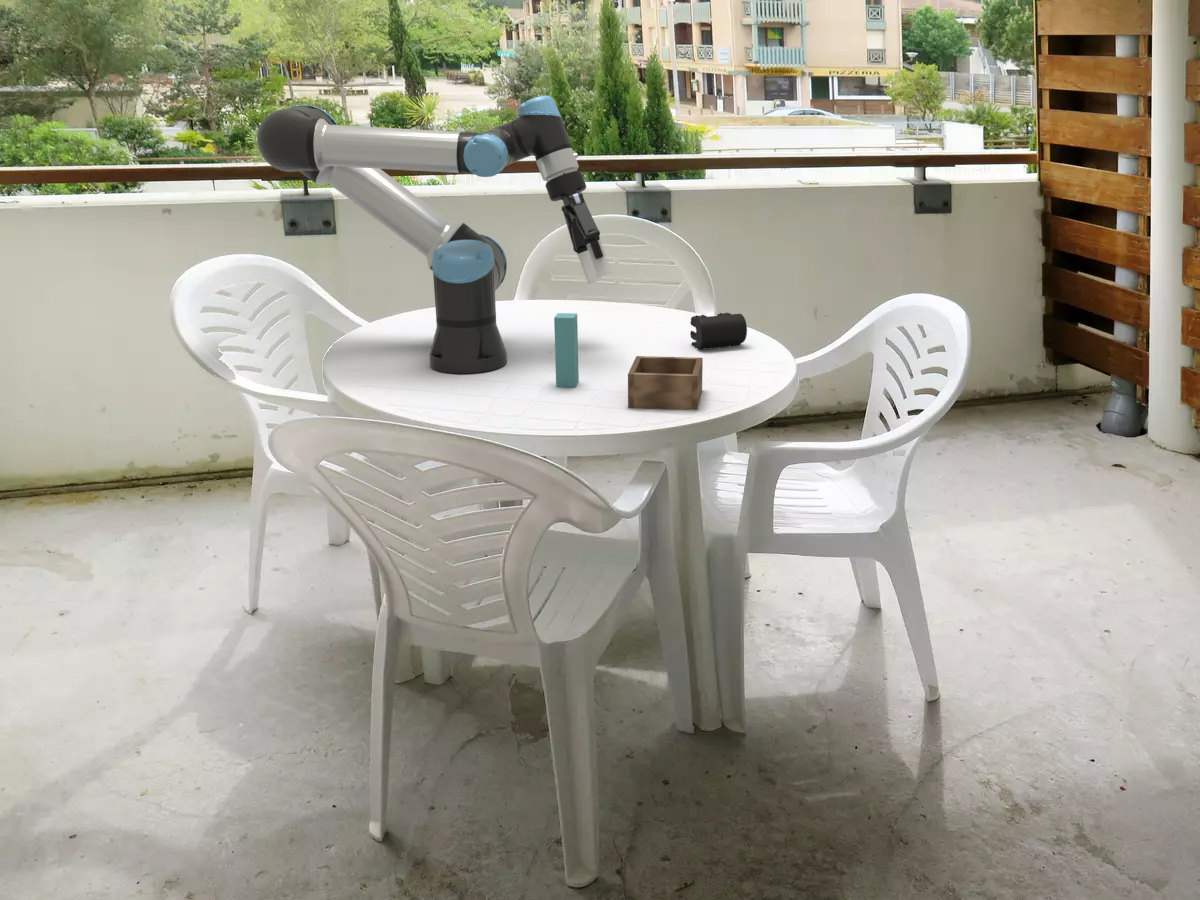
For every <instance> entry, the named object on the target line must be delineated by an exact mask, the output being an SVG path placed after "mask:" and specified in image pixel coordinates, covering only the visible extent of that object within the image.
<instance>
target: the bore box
mask: <svg viewBox="0 0 1200 900" xmlns="http://www.w3.org/2000/svg"><path fill="white" fill-rule="evenodd" d="M634 358H635V359H634V360H633V362H632V364H631V367H630V369H629V370H628V371H629V372H628V373H627V407H630V409H631V408H633V409H659V408H661V409H664V410H665V409H667V410H690V409H694V411H695V410H696V411H697V410H698V409H699V405H700V400H701V396H702V393H703V371H704V370H703V361H704V360H703V358H704V357H696V356H695V357H692V356H691V357H688V356H687V357H686V356H653V355H651V356H650V355H649V356H647V355H646V356H645V355H643V356H642V355H636V356H635V357H634ZM661 409H660V410H661Z"/></svg>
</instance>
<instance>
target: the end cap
mask: <svg viewBox="0 0 1200 900" xmlns="http://www.w3.org/2000/svg"><path fill="white" fill-rule="evenodd" d="M746 321H747V320H746V318H745V316H744V315H743V314H742V313H734V314H732V313H730V312H728V311H727V312H724V313H722V312H720V313H717V315H712V316H707V315H705V314H701V315H697V314H696V315H692V316H691V318H690V326H692V327H694V328H695V330H696V331H693V330H690V333H689V334H690V338H691V339H692V340H694V341H692V342H691V344H690V345H691V346H692V347H693V346H694V347H693V348H695V349H696V348H697V350H698V349H699V351H700V350H708V349H709V350H711V349H719V347H721V348H727V347H728V348H729V346H731V347H739V346H738V345H742V343H745V341H746V339H747V335H748V326H747V322H746ZM710 348H711V349H710Z"/></svg>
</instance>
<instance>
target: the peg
mask: <svg viewBox="0 0 1200 900" xmlns="http://www.w3.org/2000/svg"><path fill="white" fill-rule="evenodd" d="M553 321H554V324H553V327H554V328H553V329H554V358H555V387H556V388H576V387H577V386H578V384H579V381H580V378H579V373H580V372H579V371H580V370H579V339H578V338H579V337H578V336H579V334H578V331H579V330H578V329H579V327H578V313H577V312H576V313H573V312H572V313H571V312H569V313H568V312H565V313H563V312H558V313H557V314H556V315H555V316H554V318H553Z"/></svg>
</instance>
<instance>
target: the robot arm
mask: <svg viewBox="0 0 1200 900" xmlns="http://www.w3.org/2000/svg"><path fill="white" fill-rule="evenodd" d="M517 112H518V114H517V115H518V117H516V118H515V119H513V120H511V121H508V122H506V123H504V124H503V123H502V124H501V125H498V126H496V127H492V128H490V129H488V130H486V131H483V132H474V131H473V132H467V131H449V130H430V129H413V128H412V129H411V128H395V127H392V128H391V127H379V126H378V127H375V126H363V125H362V126H358V125H357V126H356V125H344V124H343V125H341V124H340V125H339V124H338V123H337V122H336V120H335V118H333V116H332V115H330V113H328V112H327V111H325V110H324V109H322V108H320V107H317V106H314V105H309V104H299V105H294V106H292V107H290V108H283V109H278V110H276V111H272V112H271V113H269V114H268V115H267V116H266V117H265V118H263V120H262V121H261V123H260V124H259V127H258V130H257V134H256V136H257V137H256V142H257V148H258V150H259V152H260V155H261V157H262V159H264V160H265V161H266V163H267V164H269V165H270V166H271V167H273V168H275V169H276V170H279V171H282V172H287V173H292V172H299V173H301V174H303V175H304V176H305V177H306V178H308V179H309V180H310V181H312V182H313V183H314V184H316V185H318V186H320V185H330V186H331V187H332V188H334V189H335V190H336V191H338V192H339V193H340V194H342V195H343V196H345V197H346V198H347V199H349V200H350V201H351V202H353V203H354V204H355V205H356V206H358V207H359V208H361V209H362V210H363V211H365V212H366V213H367V214H369V215H370V216H371V217H372V218H374V219H376V220H377V221H378V222H380V224H382V225H383V226H384V227H386V228H387V229H388V230H390V231H391V232H393V233H394V234H395V235H397V236H398V237H399V238H401V239H402V240H403V241H405V242H406V243H407V244H409V245H410V246H411V247H412V248H414V249H415V250H417V251H418V252H419V253H421V255H423V256H425V258H426V260H427V265H428V269H429V270H431V271H432V274H433V275H432V276H433V288H434V289H433V290H434V291H433V292H434V304H435V305H434V306H435V307H434V308H435V318H436V319H435V320H436V329H435V332H434V336H433V338H432V343H431V348H430V351H429V367H430V368H431V369H433V368H434V369H433V370H435V369H436V371H438V370H439V371H438V372H442V371H443V372H442V373H447V372H448V373H449V374H477V373H485V372H490V371H494V370H497V369H500V368H502V367H504V366H505V365H506V364H507V363H508V355H507V349H506V346H505V343H504V341H503V339H502V335H501V333H500V330H499V328H498V324H497V309H496V305H497V304H496V291H497V290H498V289H499V288H500V286H501V285H502V283H503V282H504V280H505V277H506V274H507V269H508V268H507V267H508V262H507V260H508V259H507V256H506V252H505V250H504V249H503V247H502V245H500V243H499V242H498V241H497V240H496V239H494V238H492V237H490V236H488V235H485V234H480V233H478V232H476V231H475V230H474V229H472V228H471V227H470V226H469V225H467V224H466V223H465V222H463V221H458V222H451V221H449V220H448V219H447V218H446V217H444V216H443V215H441V213H439V212H438V211H436V210H435V209H434V208H432V206H430V205H429V204H427V203H426V202H425V201H424V200H422V199H421V198H420V197H418V196H416V195H415V194H414V193H413V192H411V191H410V190H409V189H408V188H406V187H405V186H403V185H402V184H401V183H400V182H398V181H397V180H395V178H393V177H391V176H390V175H389V174H388V173H386V172H385V171H384V170H397V171H399V170H400V171H415V172H417V171H420V172H435V173H437V172H438V173H439V172H440V173H453V174H455V173H456V174H467V175H475V176H477V177H481V178H491V177H495V176H497V175H498V174H499V173H501V172H502V171H503V170H504V169H505V168H507V167H508V166H509V165H512V164H514V163H516V162H518V161H521V160H524V159H525V158H528V157H530V156H534V159H535V162H536V165H537V167H538V168H537V169H539V173H540V175H541V178H542V181H544V182H546V183H545V188H546V191H547V194H548V196H549V199H550V201H551V202H558V201H559V202H560V200H561V201H562V203H563V205H562V206H561V212H562V213H563V216H564V219H565V223H566V226H567V227H566V228H567V230H568V234H569V236H570V237H569V238H570V241H571V244H572V245H571V246H572V247H573V251H574V253H576V254H577V257H578V259H579V261H580V266H581V267H582V271H583V273H584V275H585V278H586V281H587V284H588V285H591V284H595V283H597V282H600V281H602V277H604V276H607V275H610V274H612V273H613V272H612V269H611V267H610V265H609V261H608V259H607V256H606V253H605V251H604V247H603V245H602V243H601V242H602V241H601V240H600V235H601V231H600V230H599V228H598V225H596V222H595V220H594V217H593V216H592V215H593V214H592V213H591V211H590V208H588V205H587V202H586V201H585V198H584V194H583V193H582V192H583V191H585V190H586V189H587V185H586V182H585V179H584V176H583V173H582V171H580V170H578V169H579V167H580V165H579V163H578V160H577V159H578V157H579V154H578V152H575V153H574V149H573V146H572V143H571V140H570V138H569V136H568V132H567V130H566V127H565V123H564V119H563V117H562V115H561V113H560V111H559V109H558V106H557V104H556V101H555V98H553V97H551V96H550V95H539V96H536V97H533V98H530V99H528V100H526V101H525V102H523V103H521V104H519V106H518V108H517Z"/></svg>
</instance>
